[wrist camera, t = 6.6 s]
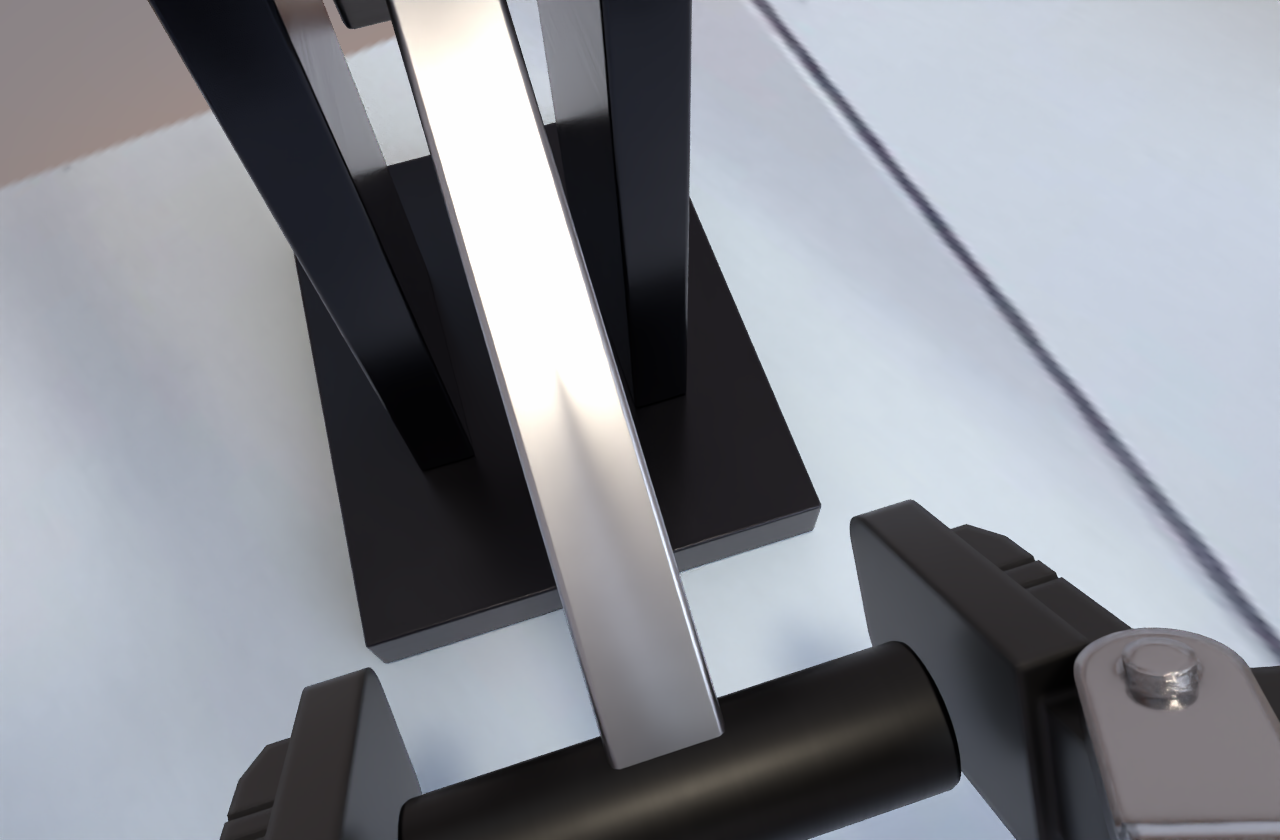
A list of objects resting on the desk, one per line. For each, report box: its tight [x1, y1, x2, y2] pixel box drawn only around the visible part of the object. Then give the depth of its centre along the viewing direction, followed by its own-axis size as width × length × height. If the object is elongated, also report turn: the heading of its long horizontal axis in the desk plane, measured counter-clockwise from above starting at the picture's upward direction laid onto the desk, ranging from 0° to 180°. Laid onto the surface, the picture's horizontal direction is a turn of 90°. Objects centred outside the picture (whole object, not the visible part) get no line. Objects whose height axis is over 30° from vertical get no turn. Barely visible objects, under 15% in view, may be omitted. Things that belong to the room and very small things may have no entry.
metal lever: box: [333, 0, 961, 840], centre depth 10 cm, size 12×5×2 cm, turn 17°
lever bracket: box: [148, 0, 821, 663], centre depth 14 cm, size 10×8×13 cm
